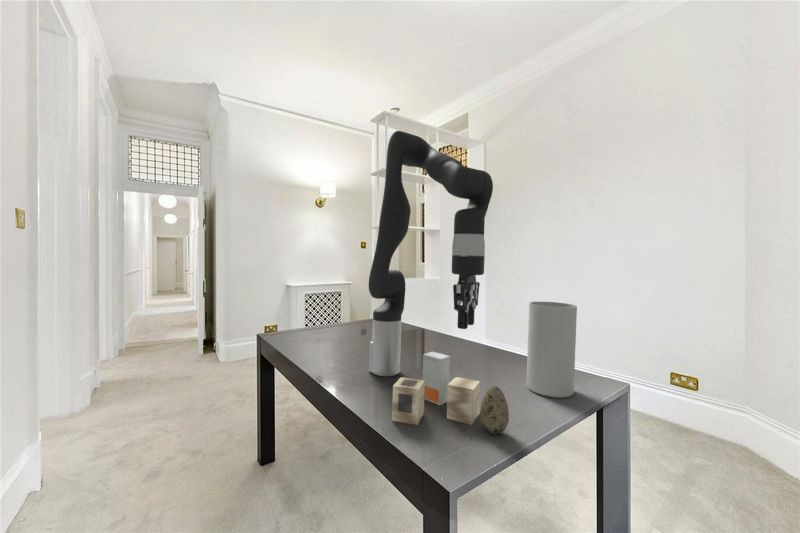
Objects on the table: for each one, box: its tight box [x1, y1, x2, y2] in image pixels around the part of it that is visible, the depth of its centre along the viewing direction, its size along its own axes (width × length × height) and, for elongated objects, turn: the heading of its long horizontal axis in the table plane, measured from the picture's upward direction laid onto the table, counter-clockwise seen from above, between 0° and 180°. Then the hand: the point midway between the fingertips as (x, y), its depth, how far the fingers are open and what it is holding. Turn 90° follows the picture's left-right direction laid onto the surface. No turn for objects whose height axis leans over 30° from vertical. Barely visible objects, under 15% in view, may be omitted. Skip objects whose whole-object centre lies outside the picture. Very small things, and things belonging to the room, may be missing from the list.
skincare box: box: [421, 351, 451, 406], centre depth 87 cm, size 6×4×12 cm
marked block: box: [391, 376, 425, 426], centre depth 77 cm, size 6×6×8 cm
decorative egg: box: [479, 385, 510, 435], centre depth 71 cm, size 6×6×10 cm
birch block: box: [446, 376, 481, 426], centre depth 78 cm, size 6×6×8 cm
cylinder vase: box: [526, 301, 578, 399], centre depth 96 cm, size 12×12×25 cm
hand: (465, 326), depth 78 cm, fingers open, 5 cm apart
